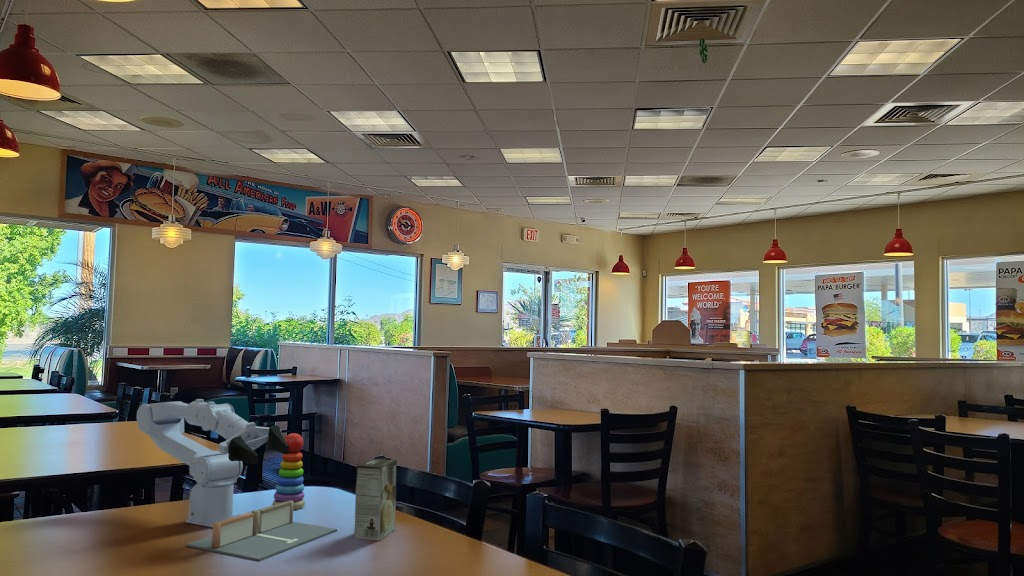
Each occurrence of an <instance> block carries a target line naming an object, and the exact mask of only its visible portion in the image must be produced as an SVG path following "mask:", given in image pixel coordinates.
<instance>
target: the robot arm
mask: <svg viewBox="0 0 1024 576" xmlns="http://www.w3.org/2000/svg"><path fill="white" fill-rule="evenodd" d="M185 421H186V422H187V423H188V424H189V425H192V426H198V427H201V428H202V429H201V430H202V431H205V432H206V431H212V432H215V433H217V434H218V435H219V436H221V437H223V438H224V439H225V441H222V442H220V443H219V444H218V450H212V449H210V448H208V447H206V446H204V445H203V444H201V443H199V442H196V440H193V439H191V438H189V437H187V436H186V435H184V433H185ZM136 423H137V426H138V429H139V431H140V432H141V433H144V434H146V435H147V436H149V438H150V439H151V440H152V441H153V443H154V444H155V446H156V447H157V448H158V449H160V450H161V451H162V452H164V453H165V454H168V455H170V456H172V457H173V458H174V459H177V460H179V461H180V462H182V463H184V464H186V465H187V466H189V469H188V470H189V475H190V476H191V477H193V479H194V480H195V482H196V483H195V484H194V486H193V487H192V488H191V490H190V493H189V502H188V504H189V505H188V519H186V520H185V521H184V522H185V523H186V524H187V523H188V524H193V525H198V526H204V527H208V528H213V523H216V522H219V521H222V520H225V519H229V518H232V517H234V516H233V508H234V507H233V505H234V503H233V502H234V486H235V485H234V484H236V483H237V481H238V480H237V479H238V478H240V476H241V475H242V472H243V468H244V465H243V462H244V463H248V464H252V465H258V464H259V454H258V453H257V452H256V449H258V448H259V447H261V446H262V445H264V444H265V443H267V442H268V450H273V451H277V452H279V453H281V454H288V453H289V445H288V444H287V443H286V441H285V440H284V438H285V437H284V436H283V433H282V429H281V426H279V425H276V424H274V425H272V426H268V427H267V426H256V423H255V422H254V421H252V422H249V421H247V420H245V419H244V418H242V417H241V416H239V415H238V414H236V413H235V409H234V406H233V405H232V404H230V403H228V402H225V403H220V404H216V402H215V401H207V402H206V401H205V399H203V398H196V399H195V400H194V401H192V402H190V403H185V402H183V401H179V400H178V401H167V402H166V401H163V402H156V403H149V404H147V403H141V404H140V406H139V407H138V409H137V411H136Z"/></svg>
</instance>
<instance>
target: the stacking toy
mask: <svg viewBox="0 0 1024 576" xmlns="http://www.w3.org/2000/svg"><path fill="white" fill-rule="evenodd" d="M283 438H284V440H285V441H286V443H287V444H288V445H289V453H288V454H282V453H281V454H282V455H281V459H282V461H280V467H281V468H280V469H279V472H278V474H279V476H278V477H277V480H276V481H277V485H276V486H275V492H274V494H273V499H274V500H273V501H272V505H276V504H279V503H282V502H286V501H293V511H296V510H300V509H302V508H303V507H305V504H306V502H305V500H304V498H305V493H304V489H305V485H304V484H303V483H304V481H305V480H304V477H303V475H304V469H303V468H302V467H303V465H304V464H303V461H302V459H303V457H304V456H303V454H302V452H300V451H301V450H302V449H303V447H304V439H303V437H302V436H301V434H299V433H295V432H294V433H289V434H287V435H285V437H283ZM272 505H271V506H272ZM295 509H296V510H295Z"/></svg>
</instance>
